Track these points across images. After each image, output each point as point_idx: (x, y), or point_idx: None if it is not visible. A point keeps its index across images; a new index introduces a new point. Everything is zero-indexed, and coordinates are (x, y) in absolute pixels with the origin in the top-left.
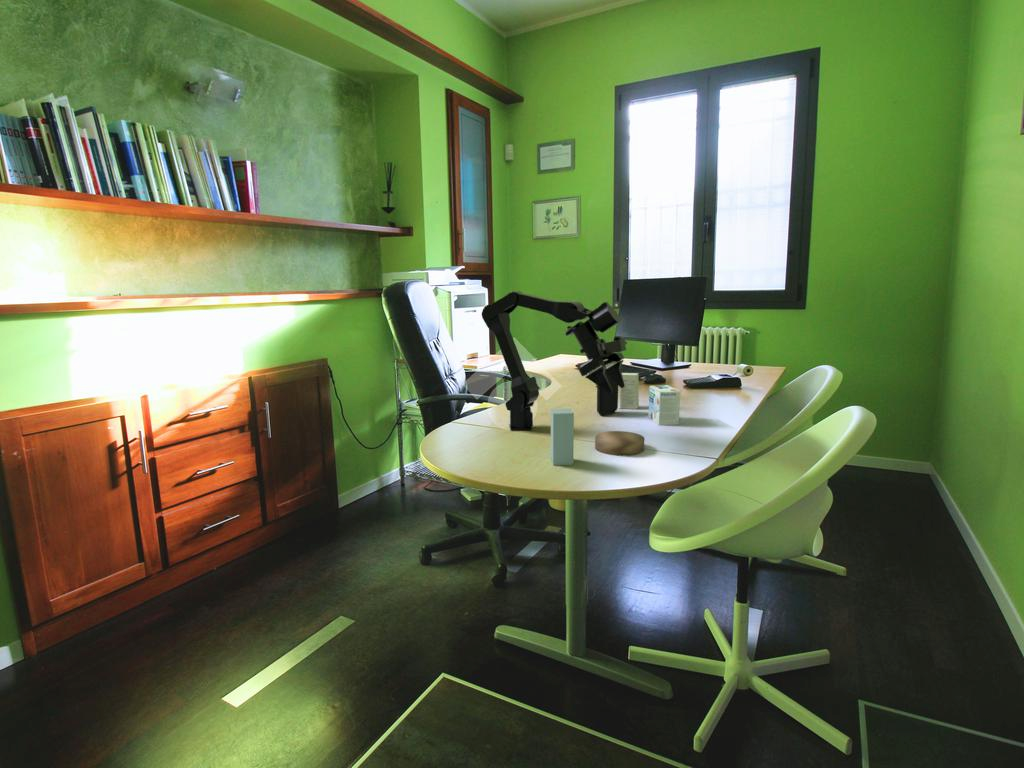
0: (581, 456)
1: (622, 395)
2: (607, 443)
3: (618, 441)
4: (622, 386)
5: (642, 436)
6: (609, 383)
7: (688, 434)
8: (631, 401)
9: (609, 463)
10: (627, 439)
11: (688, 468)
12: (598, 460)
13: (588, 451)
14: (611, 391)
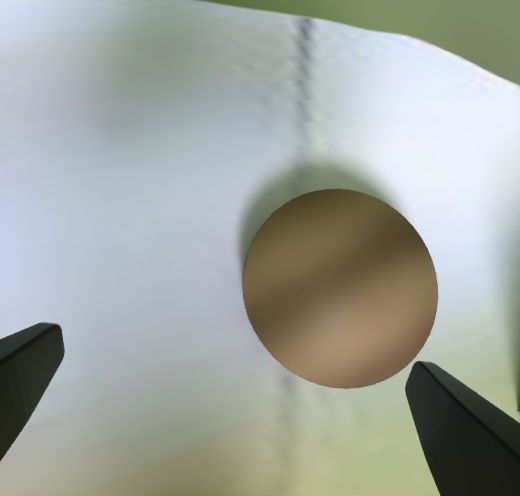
0: (478, 381)
1: None
2: (435, 305)
3: (399, 271)
4: (58, 345)
5: (290, 203)
6: None
7: (54, 99)
8: None
9: (495, 271)
10: (356, 246)
11: (423, 67)
12: (486, 312)
13: None
14: (432, 366)
